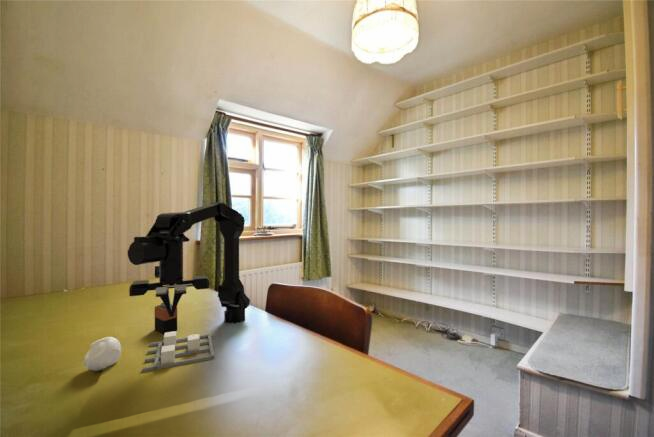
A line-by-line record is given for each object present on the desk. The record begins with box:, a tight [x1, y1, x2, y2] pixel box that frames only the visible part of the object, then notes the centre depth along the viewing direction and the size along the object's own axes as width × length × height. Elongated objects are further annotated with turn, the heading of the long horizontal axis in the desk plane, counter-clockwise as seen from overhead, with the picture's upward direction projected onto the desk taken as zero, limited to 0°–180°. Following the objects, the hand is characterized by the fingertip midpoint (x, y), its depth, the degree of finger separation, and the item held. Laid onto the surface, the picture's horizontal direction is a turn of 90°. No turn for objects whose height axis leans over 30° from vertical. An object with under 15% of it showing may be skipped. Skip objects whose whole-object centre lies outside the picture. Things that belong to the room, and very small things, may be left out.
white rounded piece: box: [83, 336, 122, 372], centre depth 76 cm, size 8×8×8 cm
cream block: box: [160, 345, 176, 364], centre depth 77 cm, size 3×4×4 cm
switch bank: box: [141, 333, 215, 373], centre depth 82 cm, size 18×16×2 cm
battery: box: [154, 302, 178, 335], centre depth 97 cm, size 4×7×10 cm, turn 55°
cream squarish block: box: [163, 331, 177, 346], centre depth 86 cm, size 3×4×4 cm
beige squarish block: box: [187, 333, 201, 351], centre depth 84 cm, size 3×4×4 cm
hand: (171, 316), depth 81 cm, fingers closed
